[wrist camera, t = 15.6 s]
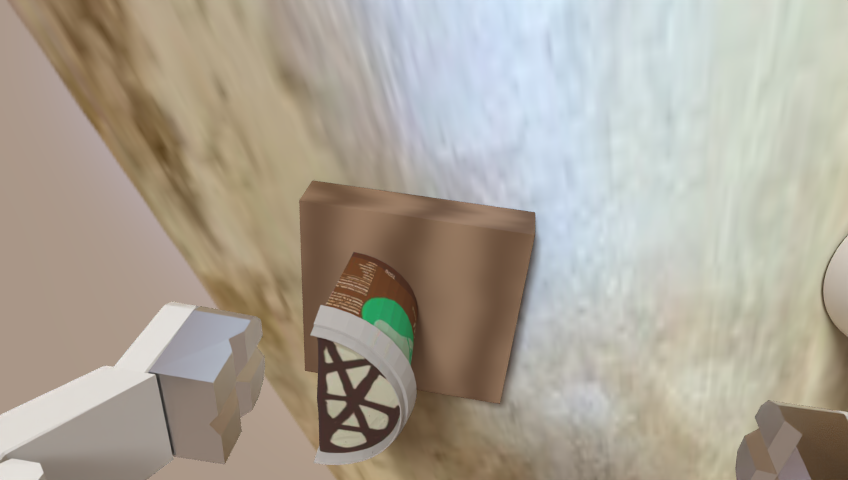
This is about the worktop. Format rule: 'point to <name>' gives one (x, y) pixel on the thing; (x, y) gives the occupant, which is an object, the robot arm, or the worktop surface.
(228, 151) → the worktop surface
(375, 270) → the food container
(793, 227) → the worktop surface
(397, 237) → the walnut base
